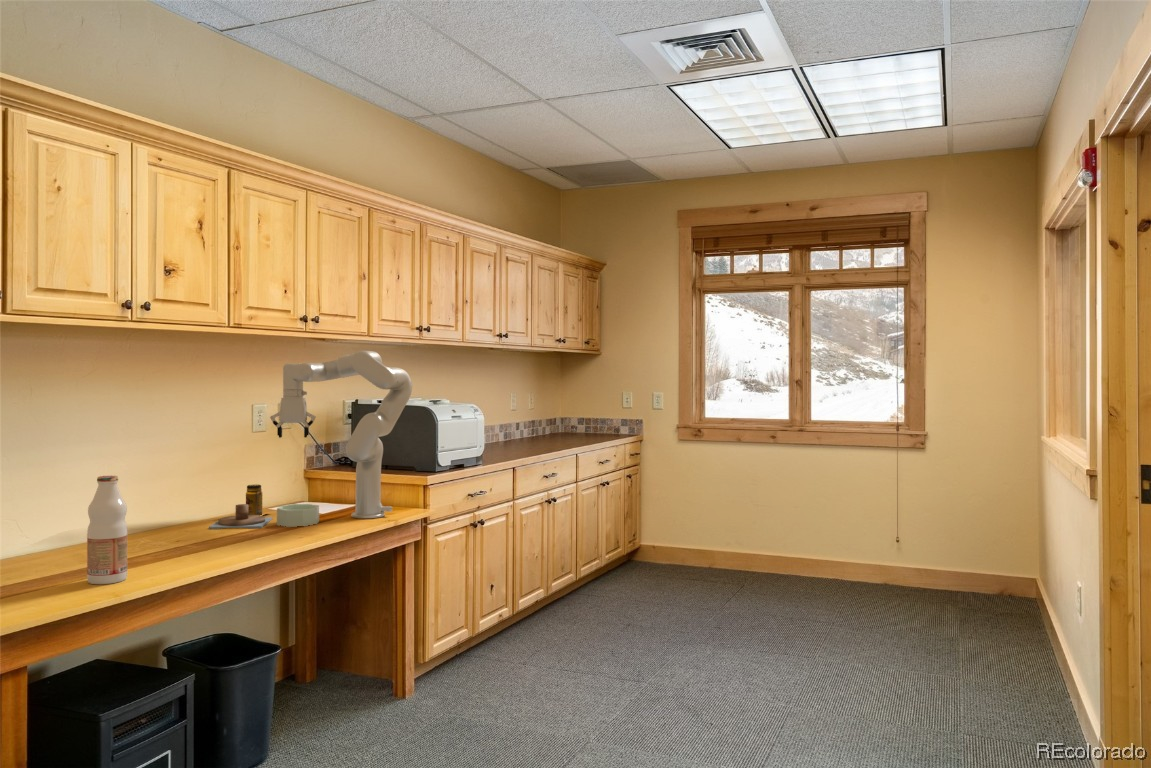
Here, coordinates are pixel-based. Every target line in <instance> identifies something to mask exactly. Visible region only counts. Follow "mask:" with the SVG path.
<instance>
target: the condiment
mask: <svg viewBox="0 0 1151 768" xmlns="http://www.w3.org/2000/svg"><path fill="white" fill-rule="evenodd" d="M245 504H248V515H262V514H263V491H262V485H261V484H248V485H246V492H245Z"/></svg>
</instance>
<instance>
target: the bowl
mask: <svg viewBox="0 0 1151 768" xmlns="http://www.w3.org/2000/svg"><path fill="white" fill-rule="evenodd" d="M319 522H320V505H318V504H313V503H293V504H285V505H284V504H283V505H280V506H279V507H277V508H276V525H277V526H280V525H281V527H285V526H286V527H285V528H292V527H293V528H295V527H297V526H304V527H309V526H308V525H310V526H314V525H313V524H316V525H317V524H318V523H319Z"/></svg>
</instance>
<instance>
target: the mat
mask: <svg viewBox="0 0 1151 768" xmlns="http://www.w3.org/2000/svg"><path fill="white" fill-rule="evenodd" d="M264 517H265V522H263V523H259V524H254V525H246V526H225V525H220V524H218V520H217V521H216V522H214V523H212V524H211V525H209V526H208V530H223V529H222V528H248V529H263V528H264V527H265V526H266V525H267V524H269V523H270V522H271V521H272V520H273V516H269V517H267V516H264ZM270 520H271V521H270ZM269 521H270V522H269ZM268 522H269V523H268ZM264 525H265V526H264ZM263 526H264V527H263ZM262 527H263V528H262ZM219 528H221V529H219Z"/></svg>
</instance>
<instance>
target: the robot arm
mask: <svg viewBox="0 0 1151 768" xmlns="http://www.w3.org/2000/svg"><path fill="white" fill-rule="evenodd" d="M382 359H383V358H382V356H381V355H380V354H379V353H378V352H376V351H374V350H373V351H372V350H359V351H358V350H357V351H356V352H354V353H351V354H345V355H341V356H338V358H337V359H335V360H331V361H329V360H328V361H324V362H302V363H299V362H298V363H294V362H293V363H291V362H289V363H288V362H287V363H285V364H284V365H283V366H282V371H283V372H282V386H283V387H282V397H281V400H280V403H279V404H280V406H279V412H276V413H275V414H273V415H270V416H269V419H270V420H271V422H272V424H273V425H274V426H275V427H276V428H277V436H278V438H279V439H280V438H282V437H283V427H282V425H284V424H293V423H294V424H298V423H299V424H301V423H302V425H303V426H304V428H303V432H304V433H303V438H308V436H309V435H310V433H309V432H310V431H309V430H310V426H312V424H314V422H315V420H316V418H317V416H316V415H314V414H312V413H310V412H308V407H307V406H308V405H307V400H306V397H304V396H307V394H308V391H305V390H304V382H305V383H313V382H314V383H315V382H325V381H331V380H337V379H342V378H343V379H344V378H349V377H353V376H361V377H362V378H363V379H364V380H367V381H368V382H369V383H371V384H372V385H373V386H376V388H378V389H380V390H389V391H388V393H387V394H386V395H385V397H383V398H382V401H381V402H380V405H379V407H378V408H377V409H376V411H374V412H369V413H367V414H365V415H364V416H363V417H362V418H361V419H360V420H359V422H358V423H357V425H356V427H355V429H354V430H353V432H352V433H351V436H350V438H349V439H348V441H347V443H346V447H345V453H346V456H347V457H348V459H350V460H351V461H353V462H356V467H355V511H353V512H351V517H352V518H355V519H376V518H383V517H384V516H385V514H386V513H385V512H393V506H390V505H387V506H385V505H383V502H381V501H382V500H381V497H382V496H381V495H382V494H381V493H382V486H381V485H382V480H381V479H382V460H383V455H384V445H383V441H382V440H381V439H380V437H384V436H385V437H386V436H387V435H389V434H390V433H391V432H392V431H393V429H394V427H395V425H396V424H397V421H398V419H399V418H400V417H401V414H402V412H403V410H404V409H405V407H406V405H407V403H408V402H409V400H410V397H411V395H412V392H413V382H412V379H411V376H410V375H409V373H408V371H406V370H405V369H402V368H401V367H395V366H393V367H392V366H390V367H389V366H388V367H387V366H386V365H384V364H383V360H382ZM278 417H279V419H278V420H279V422H278V421H277V420H276V418H278ZM308 417H309V418H311V419H310V421H308Z"/></svg>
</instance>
